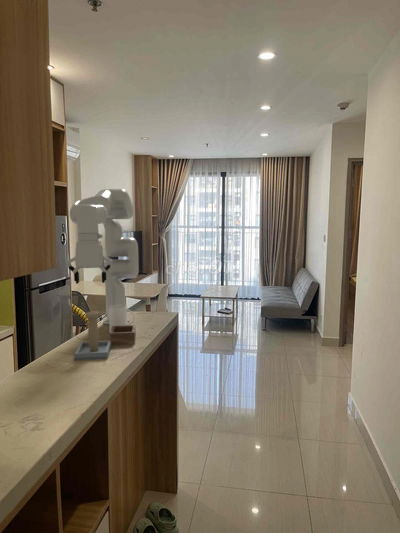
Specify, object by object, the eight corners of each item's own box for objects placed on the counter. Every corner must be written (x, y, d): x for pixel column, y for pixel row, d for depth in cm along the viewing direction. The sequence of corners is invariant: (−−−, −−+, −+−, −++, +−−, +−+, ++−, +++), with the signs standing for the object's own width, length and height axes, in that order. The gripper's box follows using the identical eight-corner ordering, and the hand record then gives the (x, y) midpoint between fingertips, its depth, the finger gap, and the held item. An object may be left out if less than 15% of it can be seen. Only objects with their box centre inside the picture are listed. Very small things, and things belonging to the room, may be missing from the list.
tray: (81, 347, 159) (80, 341, 158) (111, 346, 160) (111, 340, 160) (74, 360, 145) (74, 354, 145) (107, 358, 146) (107, 352, 146)
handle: (102, 347, 155) (101, 311, 154) (96, 353, 149) (95, 315, 147) (91, 347, 156) (89, 310, 154) (84, 353, 150) (83, 314, 148)
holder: (112, 337, 172) (112, 326, 172) (135, 336, 174) (135, 325, 173) (110, 345, 162) (109, 333, 161) (134, 344, 163) (134, 332, 162)
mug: (137, 329, 184) (136, 304, 182) (131, 335, 175) (130, 309, 174) (113, 328, 185) (112, 304, 184) (106, 334, 177) (105, 308, 175)
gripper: (112, 236, 152) (114, 280, 154) (66, 237, 149) (69, 281, 152) (110, 238, 144) (112, 283, 146) (62, 238, 142) (65, 285, 144)
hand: (90, 282), depth 149 cm, fingers open, 9 cm apart
